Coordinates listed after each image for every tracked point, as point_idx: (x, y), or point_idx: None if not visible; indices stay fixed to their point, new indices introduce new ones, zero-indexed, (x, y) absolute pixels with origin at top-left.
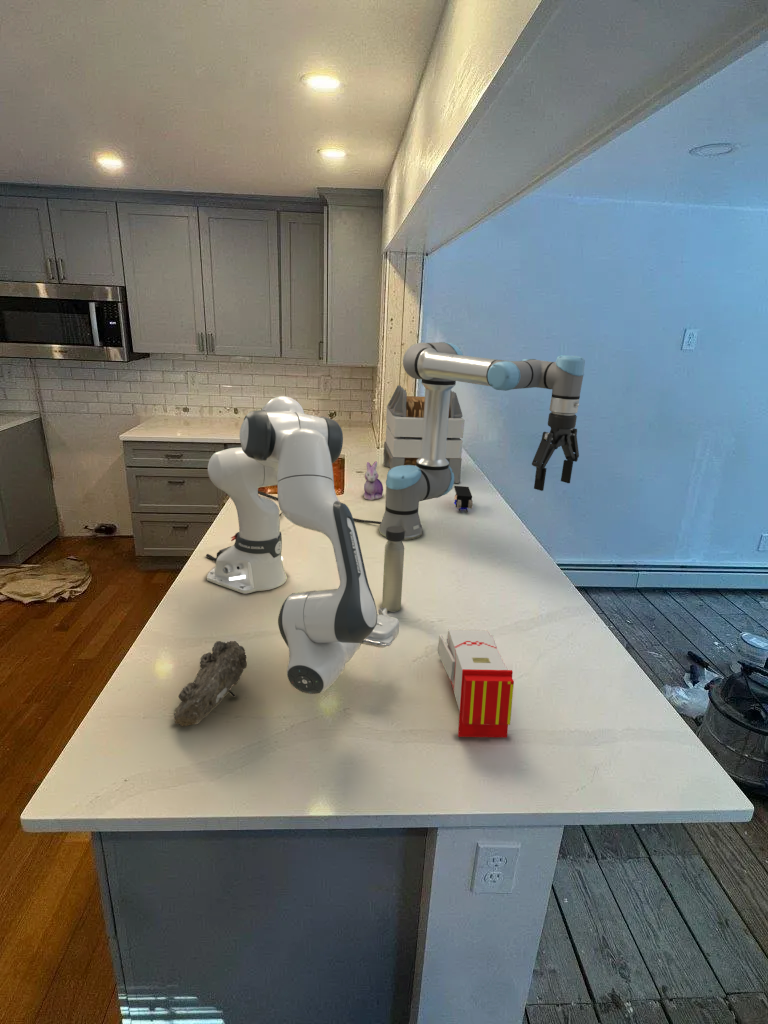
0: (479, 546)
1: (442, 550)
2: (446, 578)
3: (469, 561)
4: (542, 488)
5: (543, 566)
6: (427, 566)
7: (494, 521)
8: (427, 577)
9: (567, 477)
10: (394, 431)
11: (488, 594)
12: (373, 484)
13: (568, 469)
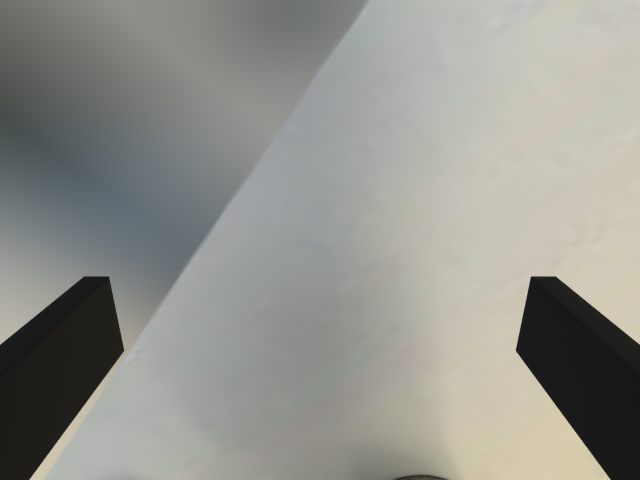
0: (316, 368)
1: (422, 401)
2: None
3: (424, 323)
4: (565, 287)
5: (269, 179)
6: None
7: (133, 448)
8: None
9: (82, 325)
10: None
11: (571, 161)
12: None
13: (22, 390)
